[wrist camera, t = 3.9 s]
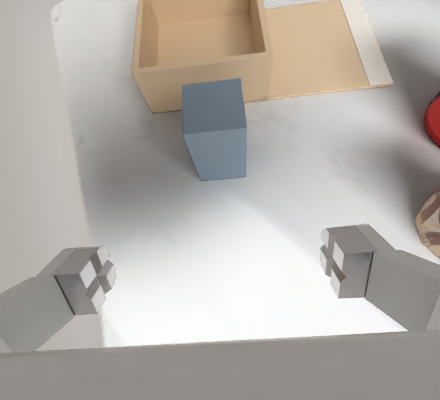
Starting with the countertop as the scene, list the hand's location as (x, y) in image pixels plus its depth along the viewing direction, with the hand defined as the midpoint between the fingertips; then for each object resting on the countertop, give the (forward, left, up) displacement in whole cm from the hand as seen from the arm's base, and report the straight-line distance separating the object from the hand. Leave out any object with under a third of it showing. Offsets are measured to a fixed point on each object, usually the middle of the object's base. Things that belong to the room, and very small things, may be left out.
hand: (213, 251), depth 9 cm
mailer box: (-6, -25, -13) cm, 29 cm away
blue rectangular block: (0, -11, -13) cm, 17 cm away
